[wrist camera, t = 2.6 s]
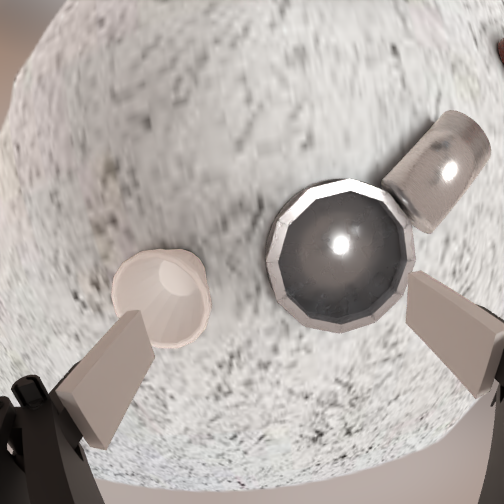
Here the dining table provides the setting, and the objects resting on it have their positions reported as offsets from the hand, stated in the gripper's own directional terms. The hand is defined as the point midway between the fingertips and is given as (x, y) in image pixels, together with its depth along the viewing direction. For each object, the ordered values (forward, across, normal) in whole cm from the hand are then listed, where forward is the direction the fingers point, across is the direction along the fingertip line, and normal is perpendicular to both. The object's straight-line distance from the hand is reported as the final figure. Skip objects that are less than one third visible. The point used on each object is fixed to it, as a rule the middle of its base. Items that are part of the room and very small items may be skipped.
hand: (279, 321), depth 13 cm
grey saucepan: (+21, +14, +1) cm, 25 cm away
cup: (+21, -10, -3) cm, 24 cm away
